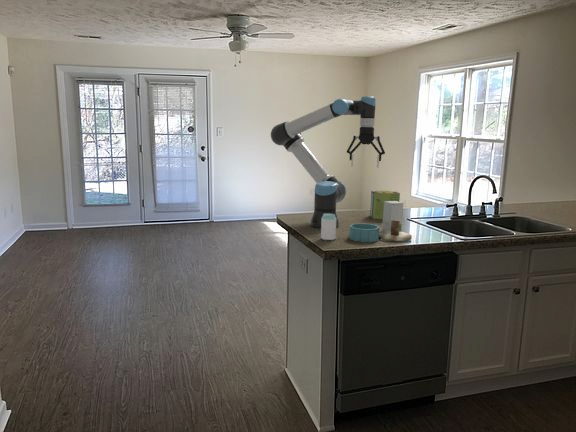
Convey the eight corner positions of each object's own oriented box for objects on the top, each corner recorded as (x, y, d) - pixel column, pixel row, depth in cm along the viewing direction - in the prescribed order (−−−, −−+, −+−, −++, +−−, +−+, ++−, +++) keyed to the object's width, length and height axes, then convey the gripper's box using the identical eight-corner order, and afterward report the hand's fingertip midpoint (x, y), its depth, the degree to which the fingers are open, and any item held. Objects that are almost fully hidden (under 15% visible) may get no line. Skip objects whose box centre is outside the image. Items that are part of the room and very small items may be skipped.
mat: (381, 240, 226) (381, 239, 226) (379, 234, 240) (379, 233, 240) (411, 242, 224) (411, 241, 224) (407, 235, 238) (407, 234, 238)
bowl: (349, 241, 224) (349, 228, 223) (349, 234, 237) (349, 222, 236) (379, 242, 222) (380, 230, 221) (377, 235, 236) (378, 224, 235)
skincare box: (389, 233, 242) (391, 203, 239) (381, 230, 248) (383, 201, 245) (402, 232, 246) (404, 202, 243) (393, 229, 251) (395, 200, 249)
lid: (379, 240, 225) (380, 223, 223) (376, 232, 241) (377, 216, 239) (413, 241, 223) (414, 224, 222) (409, 234, 239) (410, 218, 237)
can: (334, 237, 230) (335, 213, 228) (336, 241, 223) (337, 216, 221) (320, 237, 230) (320, 212, 228) (321, 240, 223) (322, 215, 221)
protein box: (398, 219, 279) (400, 193, 276) (372, 218, 279) (373, 192, 276) (395, 216, 289) (396, 190, 286) (369, 215, 289) (371, 190, 286)
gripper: (343, 126, 250) (341, 166, 254) (391, 127, 246) (388, 168, 250) (343, 126, 257) (341, 165, 261) (390, 127, 254) (387, 167, 258)
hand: (364, 166), depth 256 cm, fingers open, 13 cm apart
